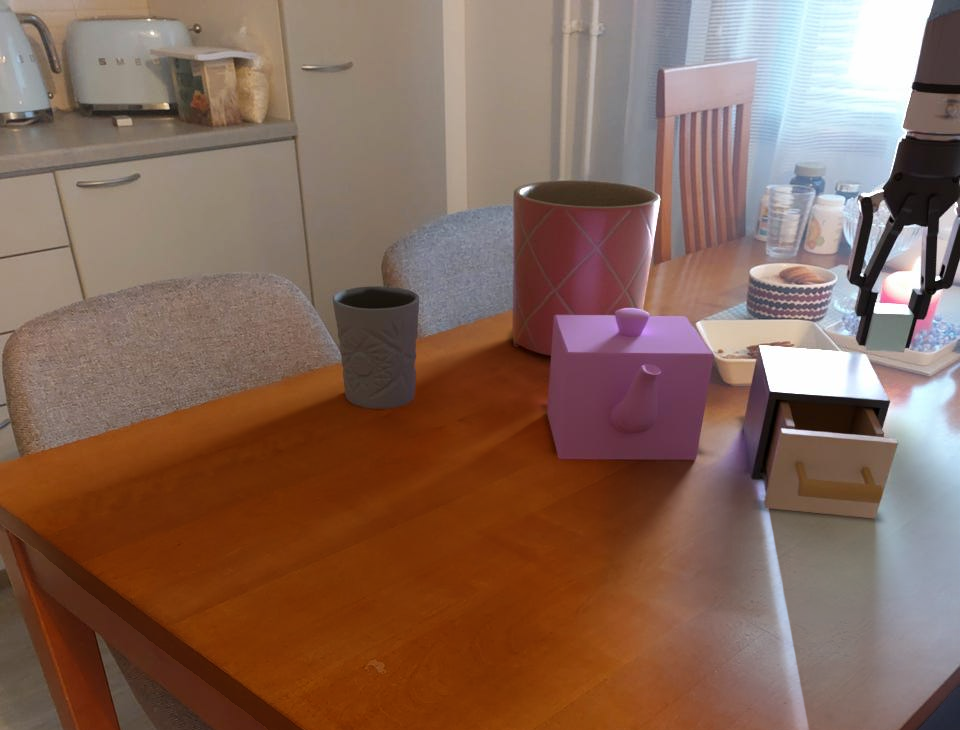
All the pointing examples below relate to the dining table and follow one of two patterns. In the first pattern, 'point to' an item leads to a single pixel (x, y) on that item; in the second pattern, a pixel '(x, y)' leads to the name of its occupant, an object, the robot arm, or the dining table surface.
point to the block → (889, 328)
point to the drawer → (826, 459)
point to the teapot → (627, 386)
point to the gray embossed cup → (378, 344)
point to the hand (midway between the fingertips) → (882, 343)
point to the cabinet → (806, 389)
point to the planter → (578, 253)
